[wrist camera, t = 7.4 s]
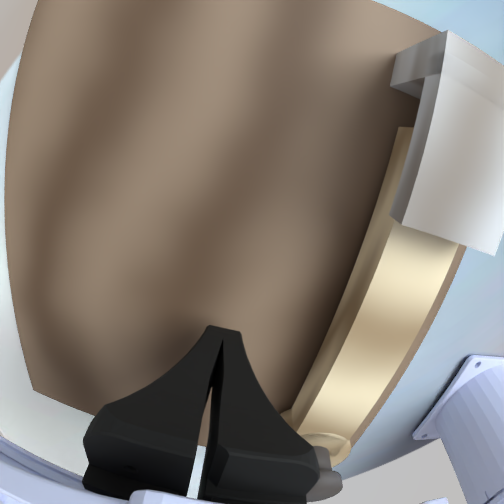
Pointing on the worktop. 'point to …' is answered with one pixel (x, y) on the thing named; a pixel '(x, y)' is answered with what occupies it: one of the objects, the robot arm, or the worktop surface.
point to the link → (369, 328)
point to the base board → (228, 179)
